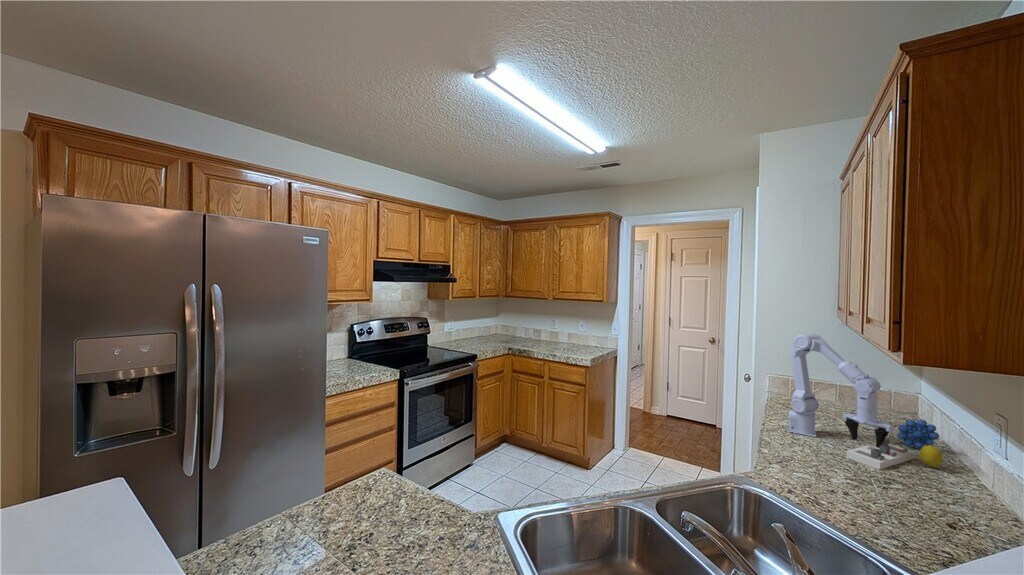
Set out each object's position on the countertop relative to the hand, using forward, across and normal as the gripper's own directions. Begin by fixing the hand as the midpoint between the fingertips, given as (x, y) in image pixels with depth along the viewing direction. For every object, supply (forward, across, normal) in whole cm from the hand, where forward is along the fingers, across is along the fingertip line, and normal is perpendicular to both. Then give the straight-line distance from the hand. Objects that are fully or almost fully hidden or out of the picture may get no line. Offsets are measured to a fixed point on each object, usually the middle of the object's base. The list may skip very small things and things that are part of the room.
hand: (866, 443), depth 146 cm
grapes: (+4, +5, +25) cm, 26 cm away
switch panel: (+4, +4, 0) cm, 6 cm away
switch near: (+1, +7, -8) cm, 10 cm away
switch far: (+1, +2, +8) cm, 8 cm away
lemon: (+4, +15, +8) cm, 18 cm away
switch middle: (+1, +6, 0) cm, 6 cm away
